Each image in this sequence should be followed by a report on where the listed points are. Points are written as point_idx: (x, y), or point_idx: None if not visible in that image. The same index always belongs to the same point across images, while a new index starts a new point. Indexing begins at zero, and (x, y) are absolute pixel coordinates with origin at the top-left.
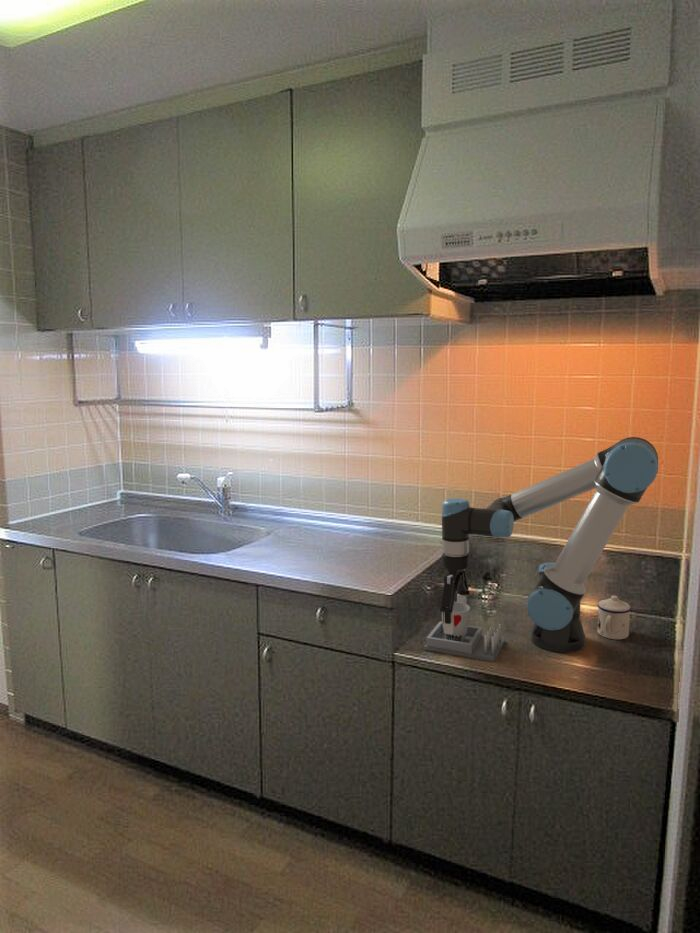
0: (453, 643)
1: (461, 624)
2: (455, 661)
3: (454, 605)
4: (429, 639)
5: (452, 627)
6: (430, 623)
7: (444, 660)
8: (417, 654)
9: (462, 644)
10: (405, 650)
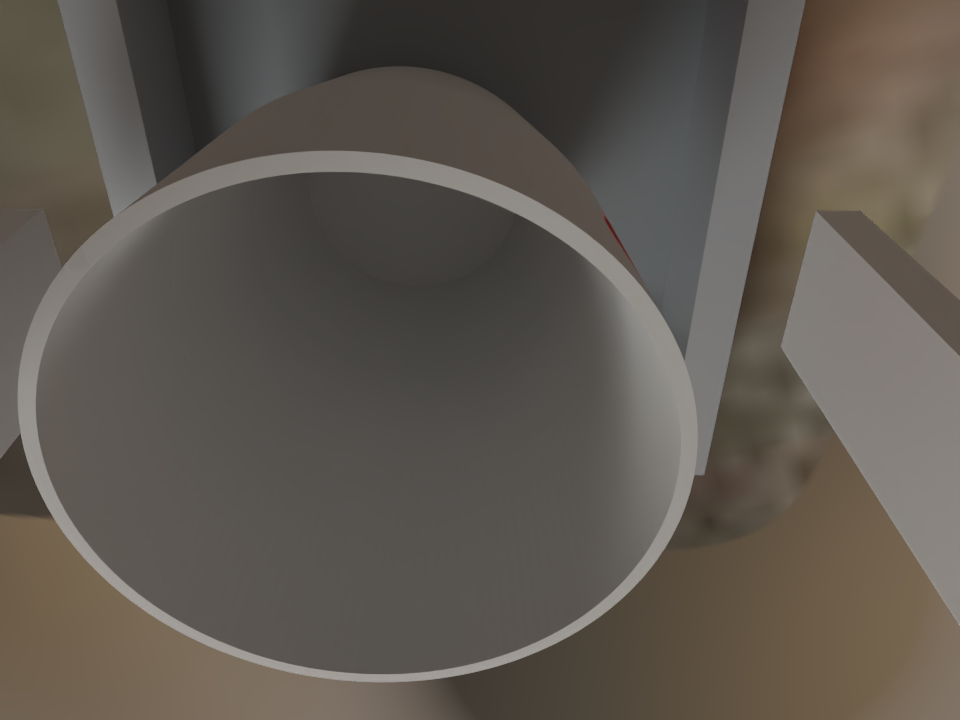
0: (765, 158)
1: (575, 174)
2: (921, 35)
3: (128, 503)
4: (707, 436)
5: (914, 274)
6: None
7: (905, 165)
8: (799, 428)
9: (797, 21)
10: (736, 526)
